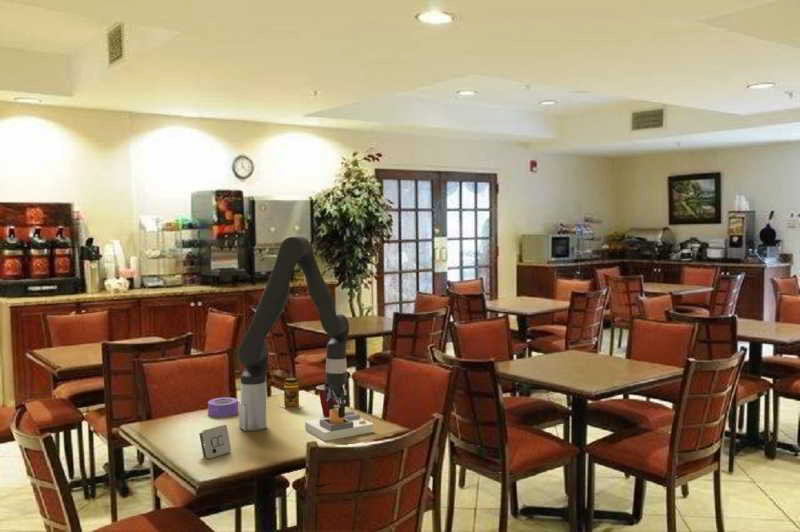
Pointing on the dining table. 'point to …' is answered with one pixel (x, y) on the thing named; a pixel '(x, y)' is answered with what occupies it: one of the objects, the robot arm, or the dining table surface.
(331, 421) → the cap
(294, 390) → the condiment
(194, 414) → the dining table surface
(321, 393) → the plastic cup
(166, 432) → the dining table surface
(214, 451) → the electrical switch
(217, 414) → the tape roll
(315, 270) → the robot arm
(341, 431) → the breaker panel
